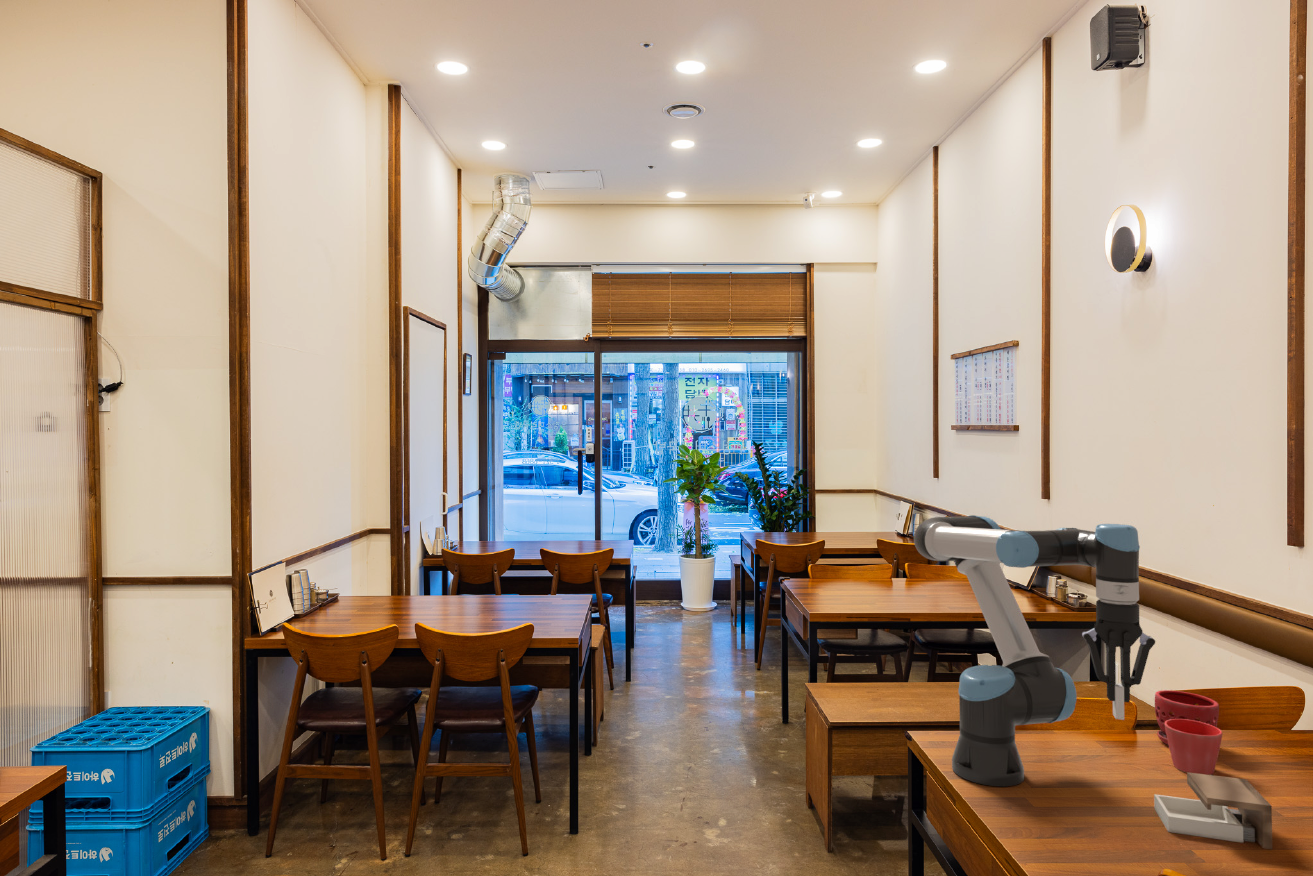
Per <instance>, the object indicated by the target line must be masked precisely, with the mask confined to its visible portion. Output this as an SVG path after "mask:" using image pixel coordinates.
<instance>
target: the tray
mask: <svg viewBox="0 0 1313 876" xmlns="http://www.w3.org/2000/svg"><path fill="white" fill-rule="evenodd" d="M1153 796H1154V798H1153V801H1154V802H1153V803H1154V804H1153V805H1154V810H1155V812H1156V814H1157V815H1158V817H1159V819H1160V821H1161V822H1162V824H1163V825H1164V828H1165V829H1166V831H1167V832H1168V833H1174V834H1180V835H1187V836H1194V837H1201V838H1209V839H1215V840H1220V841H1221V840H1222V841H1229V842H1235V843H1236V842H1237V843H1243V844H1244V841H1243V826H1242V825H1241V824H1240V822H1239V821H1238V820H1237V819H1236V817H1235V816H1234V815H1233V814H1232V812H1231V811H1230V810H1229V809H1230V808H1229V807H1226V806H1219V805H1211V810H1208V809H1207V808H1206V807H1205V806H1204V804H1203V803H1202V802H1201V800H1200V799H1194V798H1193V799H1192V798H1186V797H1178V796H1171V795H1163V794H1155V793H1154V794H1153Z"/></svg>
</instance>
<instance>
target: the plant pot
mask: <svg viewBox="0 0 1313 876" xmlns="http://www.w3.org/2000/svg"><path fill="white" fill-rule="evenodd" d="M1196 704H1197V705H1196ZM1154 711H1155V712H1154V713H1155V718H1156V721H1157V724H1158V726H1159V728H1160V730H1158V731H1156V732H1157V733H1156V735H1157V737H1158V739H1159V740H1160V741H1161V742H1163V743H1164V744H1166V745H1168V740H1167V735H1166V730H1165V721H1167V720H1170V719H1188V720H1194V721H1199V722H1203V723H1206V724H1209V725H1212V726H1214V727H1217V726H1218V720H1219V717H1220V716H1219V712H1220V705H1219V703H1218V702H1217V701H1215V700H1214V699H1213V698H1209V697H1207V696H1204V695H1200V694H1196V693H1191V692H1185V691H1181V690H1180V691H1179V690H1172V689H1170V690H1167V689H1164V690H1162V689H1161V690H1158V691H1156V692H1155V694H1154ZM1217 728H1218V727H1217ZM1168 746H1169V745H1168Z"/></svg>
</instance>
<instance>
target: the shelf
mask: <svg viewBox="0 0 1313 876" xmlns="http://www.w3.org/2000/svg"><path fill="white" fill-rule="evenodd" d="M1186 783H1187V785H1188V786H1189V787H1190V789H1191V790H1192V791H1193V793H1194V794H1195V795H1196V797H1197V798H1198V800H1201V802H1202V803H1203V804H1204V806H1205V807H1206V808H1207V809H1208V810H1211V805H1219V806H1226V807H1227V808H1234V809H1235V808H1236V809H1237V810H1239V811H1240V813H1241V814H1242V823H1246V824H1251V825H1252V827H1253V828H1254V829H1255V841H1256V842H1257V843H1258V844H1259V845H1260V846H1261V847H1262V849H1267V850H1273V817H1272V816H1273V813H1272V811H1273V810H1272V805H1271V803H1270V802H1268V800H1267V799H1265V797H1264V796H1263V795H1261V793H1260V792H1259V791H1258V790H1257V789H1256V788H1255V787H1254V786H1253V785H1252V784H1251V782H1249V781H1248V780H1247V779H1246V778H1240V777H1239V778H1238V777H1229V776H1222V775H1214V774H1212V775H1206V774H1197V773H1189V772H1187V773H1186Z"/></svg>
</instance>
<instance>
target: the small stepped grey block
mask: <svg viewBox="0 0 1313 876" xmlns="http://www.w3.org/2000/svg"><path fill="white" fill-rule="evenodd" d="M1228 809H1229V810H1230V811H1231V812H1232V814H1233V815H1234V816H1235V817H1236V819H1237V820H1238V821H1239V822H1240V824H1241V825H1242V826H1243V842H1249V843H1256V839H1255V829H1254V828H1253V827H1252V825H1251V824H1246V823H1242V814H1241V813H1240V811H1239V810H1238V809H1235V808H1234V809H1233V808H1228Z"/></svg>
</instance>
